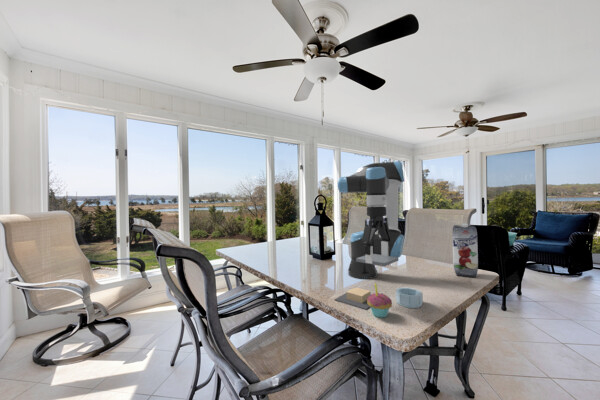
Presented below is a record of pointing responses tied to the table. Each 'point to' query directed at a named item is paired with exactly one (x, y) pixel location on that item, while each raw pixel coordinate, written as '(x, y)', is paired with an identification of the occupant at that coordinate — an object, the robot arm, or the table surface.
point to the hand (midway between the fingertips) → (377, 260)
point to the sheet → (379, 260)
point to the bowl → (409, 297)
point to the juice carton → (465, 250)
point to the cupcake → (379, 303)
